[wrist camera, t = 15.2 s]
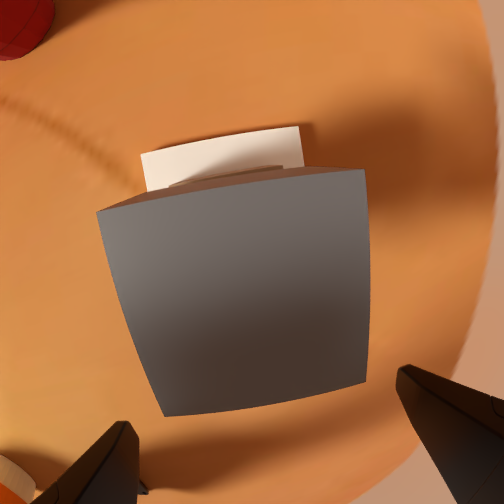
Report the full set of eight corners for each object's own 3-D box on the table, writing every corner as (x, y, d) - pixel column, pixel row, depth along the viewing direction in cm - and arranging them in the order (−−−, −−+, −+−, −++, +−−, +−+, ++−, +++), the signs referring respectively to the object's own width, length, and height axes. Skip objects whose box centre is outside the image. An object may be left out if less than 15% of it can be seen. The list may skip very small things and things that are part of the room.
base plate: (312, 268, 20) (317, 274, 19) (176, 293, 20) (174, 301, 19) (293, 128, 17) (298, 126, 16) (145, 154, 17) (140, 154, 16)
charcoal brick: (321, 312, 11) (365, 382, 7) (180, 335, 10) (164, 416, 7) (308, 165, 9) (364, 169, 5) (146, 191, 9) (96, 211, 5)
